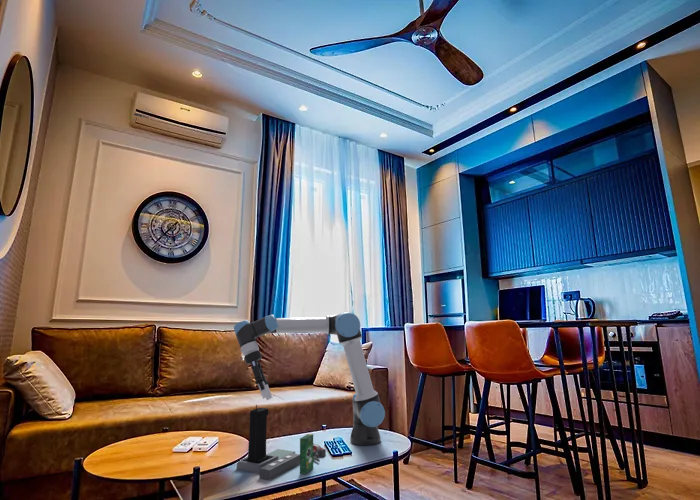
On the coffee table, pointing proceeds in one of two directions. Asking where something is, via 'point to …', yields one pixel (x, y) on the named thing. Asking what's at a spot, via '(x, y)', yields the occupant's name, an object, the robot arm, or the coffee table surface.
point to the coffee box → (306, 453)
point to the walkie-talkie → (318, 452)
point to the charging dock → (270, 465)
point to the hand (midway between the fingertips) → (268, 398)
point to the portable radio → (257, 435)
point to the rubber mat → (280, 453)
